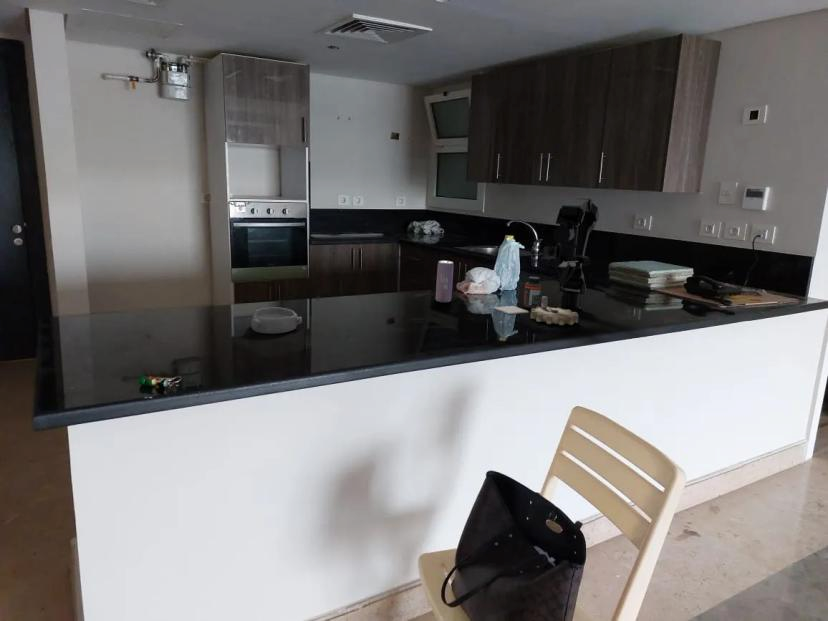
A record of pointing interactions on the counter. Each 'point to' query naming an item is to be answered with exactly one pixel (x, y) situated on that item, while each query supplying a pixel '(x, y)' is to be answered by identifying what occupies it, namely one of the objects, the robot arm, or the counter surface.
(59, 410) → the counter surface
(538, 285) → the supplement bottle
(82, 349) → the counter surface
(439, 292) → the beverage can
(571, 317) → the sprocket
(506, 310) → the pad
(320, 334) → the counter surface
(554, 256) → the robot arm
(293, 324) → the dish
